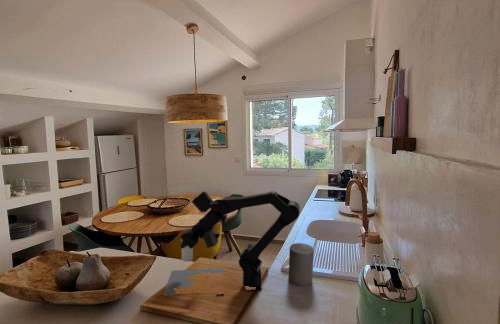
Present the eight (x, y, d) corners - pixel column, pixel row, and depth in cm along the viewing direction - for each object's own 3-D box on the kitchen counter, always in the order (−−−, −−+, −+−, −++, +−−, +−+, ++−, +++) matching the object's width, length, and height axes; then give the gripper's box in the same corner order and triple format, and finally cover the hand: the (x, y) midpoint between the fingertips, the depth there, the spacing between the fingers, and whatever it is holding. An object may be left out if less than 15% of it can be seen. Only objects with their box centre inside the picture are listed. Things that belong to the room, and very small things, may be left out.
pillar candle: (283, 277, 114) (284, 242, 112) (302, 271, 118) (303, 238, 117) (298, 289, 105) (299, 252, 104) (317, 283, 110) (319, 247, 108)
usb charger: (194, 257, 114) (194, 230, 113) (190, 262, 109) (189, 234, 108) (184, 256, 115) (184, 229, 113) (179, 260, 110) (179, 233, 109)
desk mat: (224, 270, 119) (224, 268, 119) (224, 294, 101) (224, 292, 101) (172, 272, 116) (172, 270, 116) (162, 297, 99) (162, 295, 99)
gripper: (215, 245, 99) (187, 271, 102) (230, 228, 117) (205, 250, 120) (194, 222, 99) (167, 248, 103) (212, 208, 118) (188, 231, 121)
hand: (184, 245), depth 112 cm, fingers closed on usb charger, 4 cm apart
